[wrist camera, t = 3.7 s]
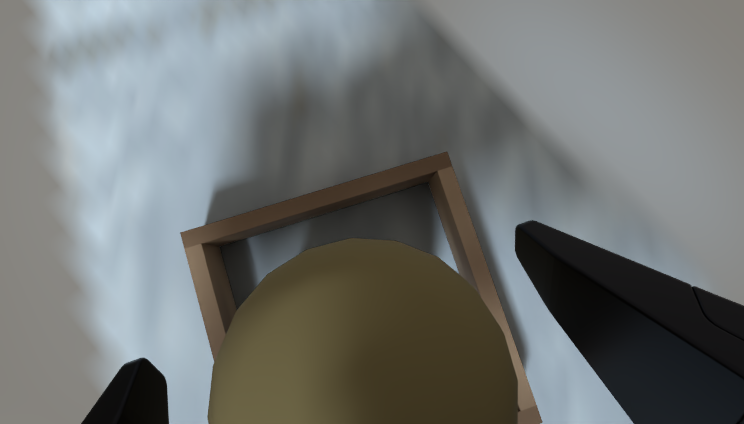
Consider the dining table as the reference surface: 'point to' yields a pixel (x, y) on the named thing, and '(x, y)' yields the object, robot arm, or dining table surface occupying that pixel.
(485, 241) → the dining table surface
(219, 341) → the frame
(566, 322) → the robot arm
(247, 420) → the cork
